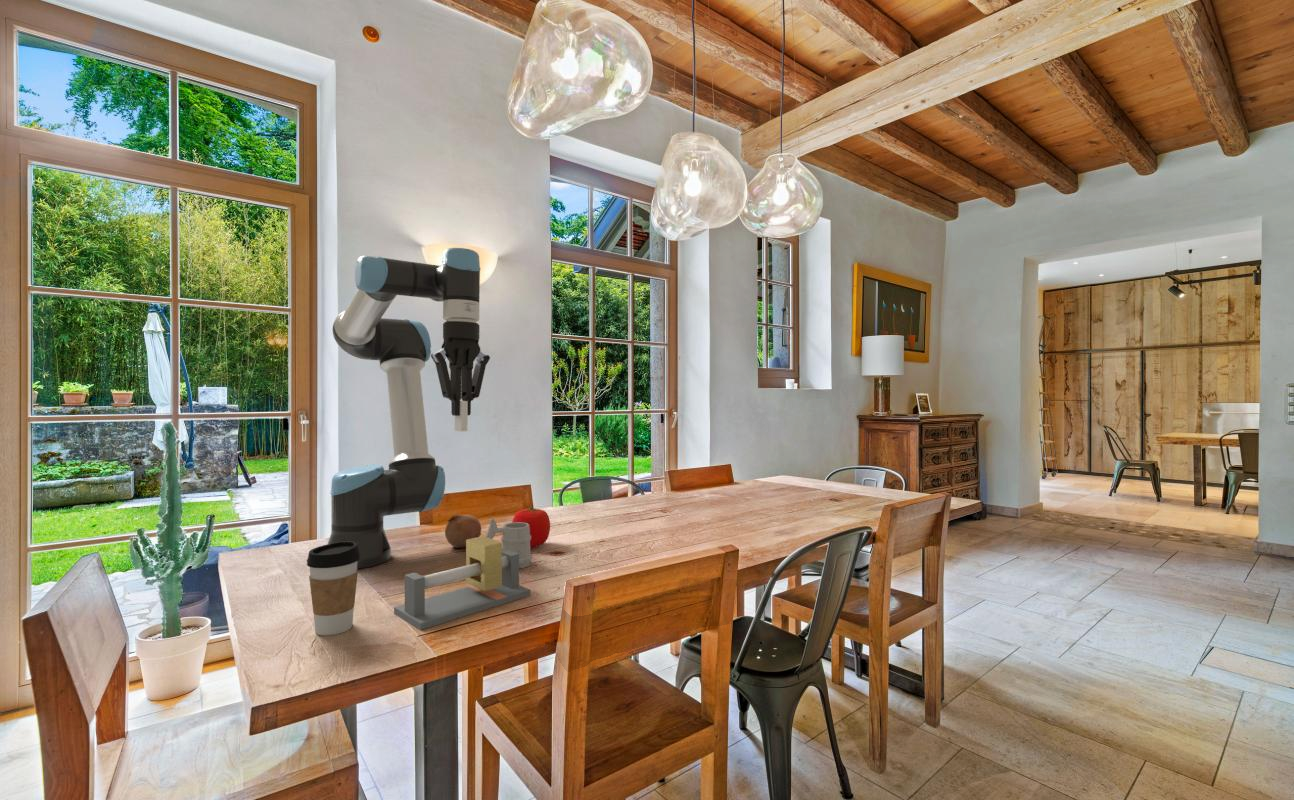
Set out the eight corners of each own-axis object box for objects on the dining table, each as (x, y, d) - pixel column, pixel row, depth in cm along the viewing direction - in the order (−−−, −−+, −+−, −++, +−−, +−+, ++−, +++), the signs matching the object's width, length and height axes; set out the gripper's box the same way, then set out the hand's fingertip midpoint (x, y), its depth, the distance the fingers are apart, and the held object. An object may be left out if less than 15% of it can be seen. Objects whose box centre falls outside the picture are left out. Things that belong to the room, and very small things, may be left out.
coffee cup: (367, 628, 103) (367, 546, 103) (316, 643, 97) (316, 556, 97) (349, 615, 109) (349, 537, 109) (300, 629, 103) (299, 546, 102)
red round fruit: (512, 542, 161) (512, 504, 161) (549, 540, 163) (550, 503, 163) (510, 552, 151) (510, 512, 151) (550, 551, 153) (550, 511, 153)
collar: (465, 582, 119) (466, 539, 119) (483, 578, 122) (483, 536, 122) (484, 591, 114) (484, 546, 114) (501, 586, 117) (502, 542, 117)
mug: (535, 567, 139) (535, 518, 139) (485, 573, 134) (485, 522, 134) (528, 558, 146) (528, 512, 146) (480, 564, 141) (481, 515, 141)
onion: (450, 560, 154) (432, 529, 151) (462, 541, 163) (446, 512, 160) (481, 549, 152) (464, 518, 150) (491, 531, 161) (475, 501, 159)
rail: (394, 613, 110) (394, 571, 110) (501, 582, 128) (501, 546, 128) (420, 630, 103) (420, 585, 103) (530, 595, 120) (530, 556, 120)
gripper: (441, 317, 116) (441, 433, 116) (497, 323, 125) (496, 430, 126) (424, 320, 121) (424, 431, 121) (479, 325, 130) (478, 428, 131)
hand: (461, 430), depth 124 cm, fingers closed
